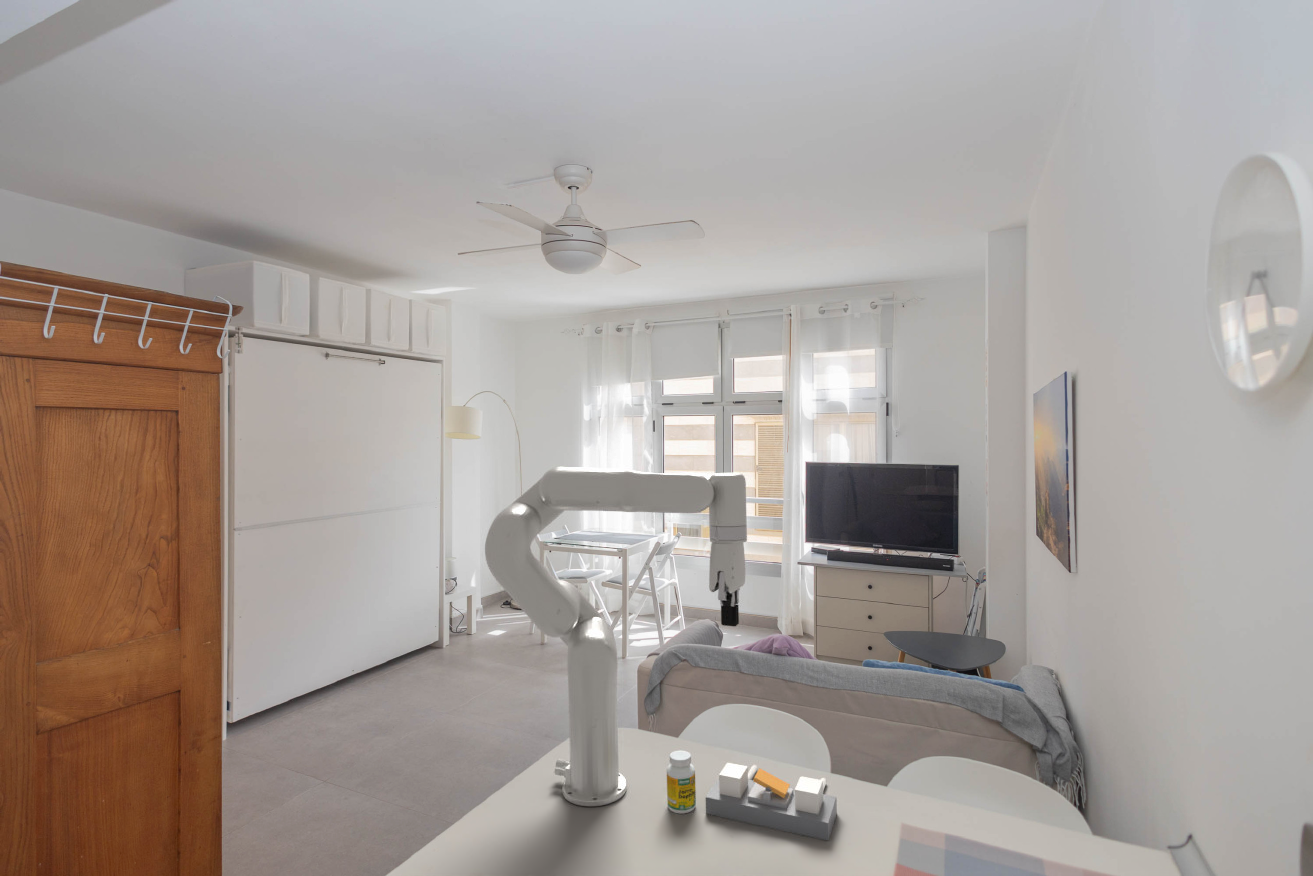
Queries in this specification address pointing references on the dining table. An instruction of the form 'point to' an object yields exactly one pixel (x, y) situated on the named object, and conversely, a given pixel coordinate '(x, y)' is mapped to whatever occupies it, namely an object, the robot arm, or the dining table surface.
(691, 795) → the supplement bottle
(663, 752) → the dining table surface
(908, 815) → the dining table surface
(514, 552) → the robot arm
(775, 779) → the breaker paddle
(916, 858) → the dining table surface
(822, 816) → the power strip
